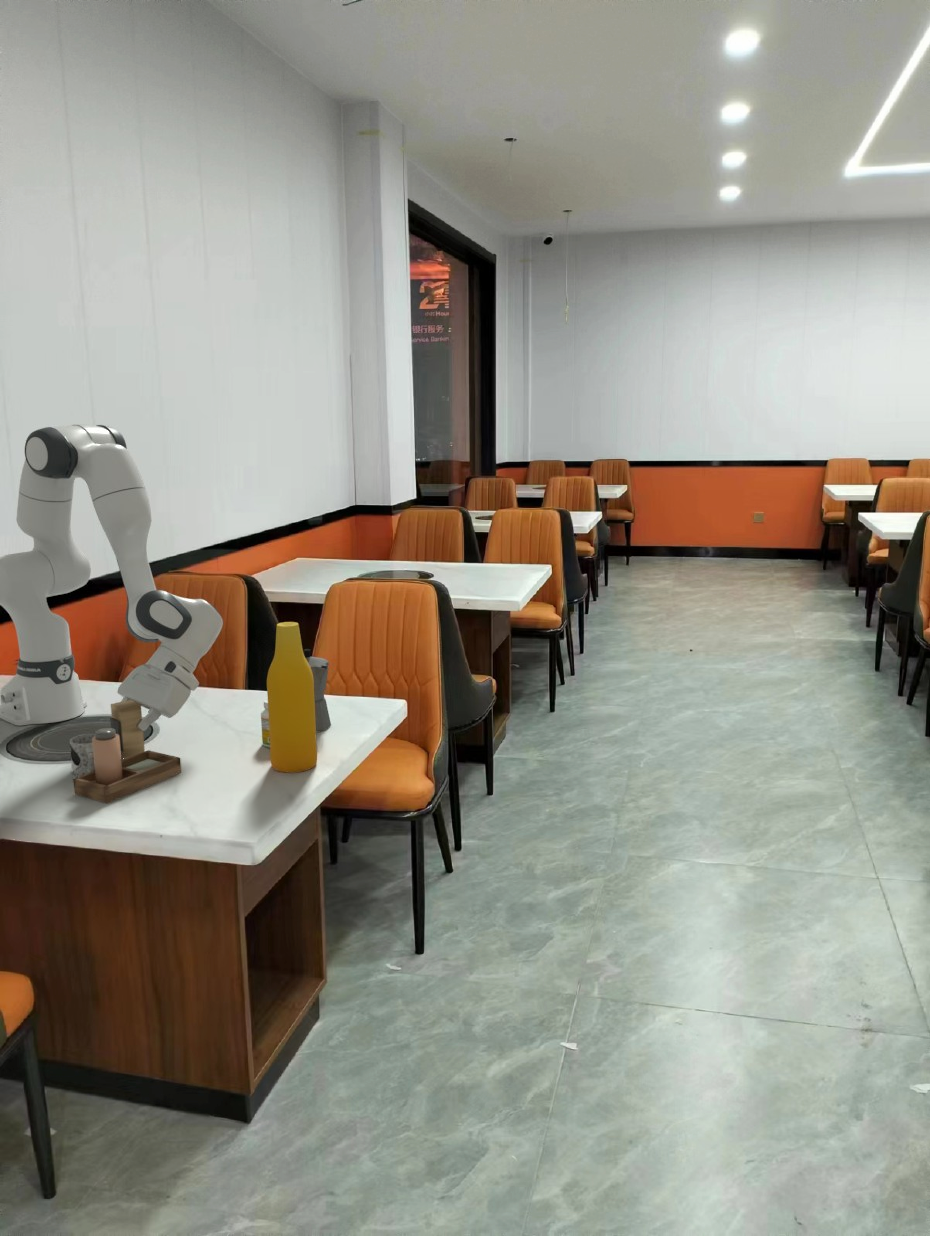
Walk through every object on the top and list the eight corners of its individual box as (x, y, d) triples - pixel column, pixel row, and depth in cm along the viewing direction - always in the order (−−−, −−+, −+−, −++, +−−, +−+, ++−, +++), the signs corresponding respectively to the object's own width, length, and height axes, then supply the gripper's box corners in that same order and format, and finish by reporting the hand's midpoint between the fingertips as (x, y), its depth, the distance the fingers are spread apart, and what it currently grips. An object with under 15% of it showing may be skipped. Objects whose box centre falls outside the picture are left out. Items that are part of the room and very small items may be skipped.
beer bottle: (273, 758, 203) (266, 619, 197) (319, 756, 204) (313, 618, 198) (268, 774, 194) (260, 629, 188) (315, 772, 195) (309, 628, 189)
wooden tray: (74, 794, 185) (73, 778, 185) (149, 764, 200) (148, 750, 200) (107, 803, 181) (105, 787, 180) (181, 772, 196) (180, 757, 195)
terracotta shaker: (90, 784, 186) (85, 732, 184) (111, 776, 190) (106, 725, 188) (108, 789, 183) (103, 736, 181) (128, 781, 187) (124, 729, 185)
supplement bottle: (278, 738, 216) (276, 695, 214) (293, 743, 212) (291, 700, 210) (257, 744, 212) (255, 700, 210) (271, 750, 208) (269, 705, 206)
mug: (71, 767, 199) (68, 736, 198) (106, 762, 202) (103, 731, 200) (74, 784, 190) (71, 751, 189) (111, 779, 193) (108, 746, 191)
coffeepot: (345, 727, 222) (342, 649, 219) (313, 738, 215) (309, 657, 212) (301, 714, 232) (297, 639, 229) (269, 724, 225) (264, 647, 222)
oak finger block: (112, 755, 206) (107, 704, 203) (134, 749, 209) (130, 699, 207) (121, 760, 203) (117, 709, 200) (144, 754, 206) (140, 704, 204)
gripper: (135, 652, 215) (95, 705, 210) (182, 669, 201) (140, 726, 196) (155, 668, 219) (117, 721, 214) (203, 686, 204) (163, 742, 200)
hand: (128, 723), depth 205 cm, fingers open, 8 cm apart
